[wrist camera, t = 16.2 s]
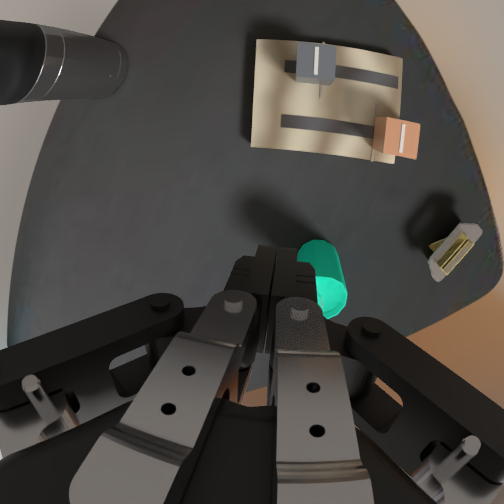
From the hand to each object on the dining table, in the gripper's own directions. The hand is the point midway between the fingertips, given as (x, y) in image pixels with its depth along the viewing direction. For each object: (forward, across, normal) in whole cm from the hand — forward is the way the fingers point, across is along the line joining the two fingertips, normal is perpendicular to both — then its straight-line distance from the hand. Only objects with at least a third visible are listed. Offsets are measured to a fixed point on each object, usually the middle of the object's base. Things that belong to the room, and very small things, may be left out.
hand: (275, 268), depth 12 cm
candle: (+29, -5, +13) cm, 32 cm away
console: (+29, -4, -9) cm, 31 cm away
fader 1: (+27, -2, -13) cm, 30 cm away
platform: (+30, -24, +7) cm, 39 cm away
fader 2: (+27, -12, -5) cm, 30 cm away
